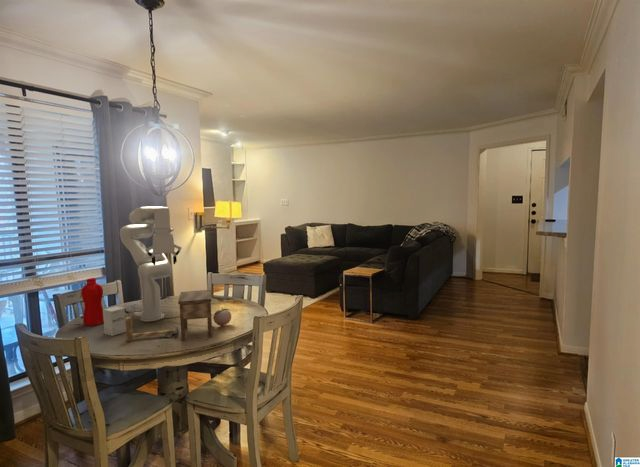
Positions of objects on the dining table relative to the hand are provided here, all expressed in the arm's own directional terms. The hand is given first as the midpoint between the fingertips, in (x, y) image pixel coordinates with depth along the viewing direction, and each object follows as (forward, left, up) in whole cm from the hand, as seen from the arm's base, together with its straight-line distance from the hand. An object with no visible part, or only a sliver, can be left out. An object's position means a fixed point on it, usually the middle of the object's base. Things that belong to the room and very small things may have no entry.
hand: (164, 264), depth 203 cm
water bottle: (-40, +19, -34) cm, 56 cm away
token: (+2, -14, -34) cm, 37 cm away
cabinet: (+15, -14, -33) cm, 39 cm away
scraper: (-6, -14, -33) cm, 37 cm away
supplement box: (-25, -1, -34) cm, 42 cm away
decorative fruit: (+28, -9, -34) cm, 44 cm away
